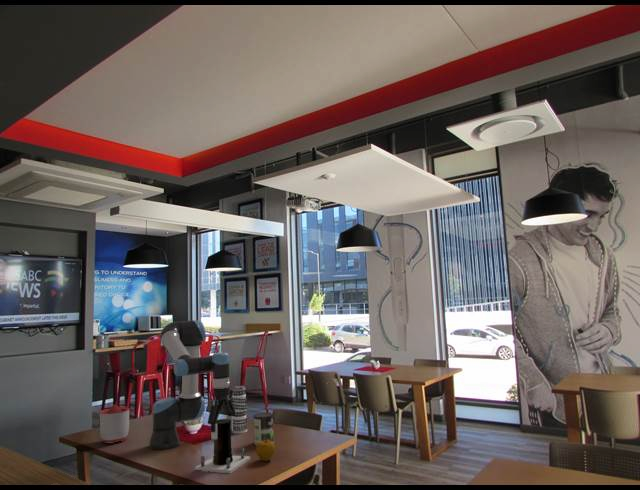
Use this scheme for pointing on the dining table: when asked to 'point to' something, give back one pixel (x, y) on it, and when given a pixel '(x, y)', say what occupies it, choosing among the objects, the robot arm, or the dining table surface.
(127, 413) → the citrus juicer
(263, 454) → the apple
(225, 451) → the container
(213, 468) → the locating plate
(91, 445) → the dining table surface
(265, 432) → the coffee can
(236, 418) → the decorative candle
